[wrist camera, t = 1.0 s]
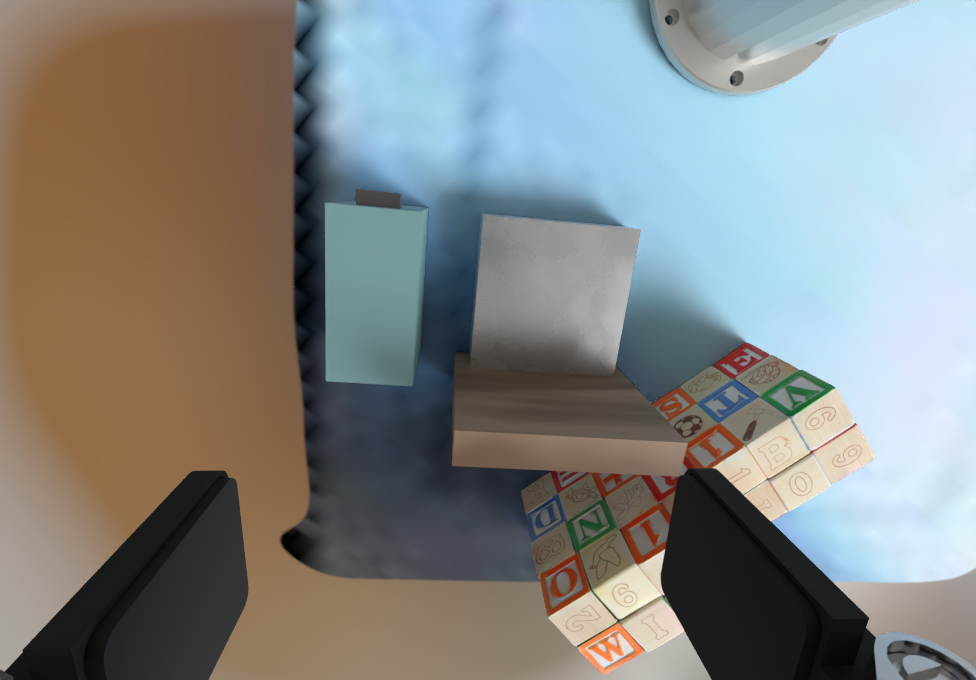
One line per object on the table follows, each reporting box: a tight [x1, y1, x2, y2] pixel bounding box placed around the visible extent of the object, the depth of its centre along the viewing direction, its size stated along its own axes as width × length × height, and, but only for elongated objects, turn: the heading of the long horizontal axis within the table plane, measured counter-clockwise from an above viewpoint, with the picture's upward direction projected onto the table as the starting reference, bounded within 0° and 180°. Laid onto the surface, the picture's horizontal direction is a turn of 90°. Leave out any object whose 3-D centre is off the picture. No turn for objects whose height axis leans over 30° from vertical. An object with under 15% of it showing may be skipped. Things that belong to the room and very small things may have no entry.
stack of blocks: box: [521, 343, 875, 675], centre depth 33 cm, size 21×6×12 cm, turn 126°
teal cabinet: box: [325, 189, 429, 386], centre depth 30 cm, size 11×5×7 cm, turn 174°
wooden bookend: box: [452, 213, 688, 477], centre depth 28 cm, size 12×12×12 cm
